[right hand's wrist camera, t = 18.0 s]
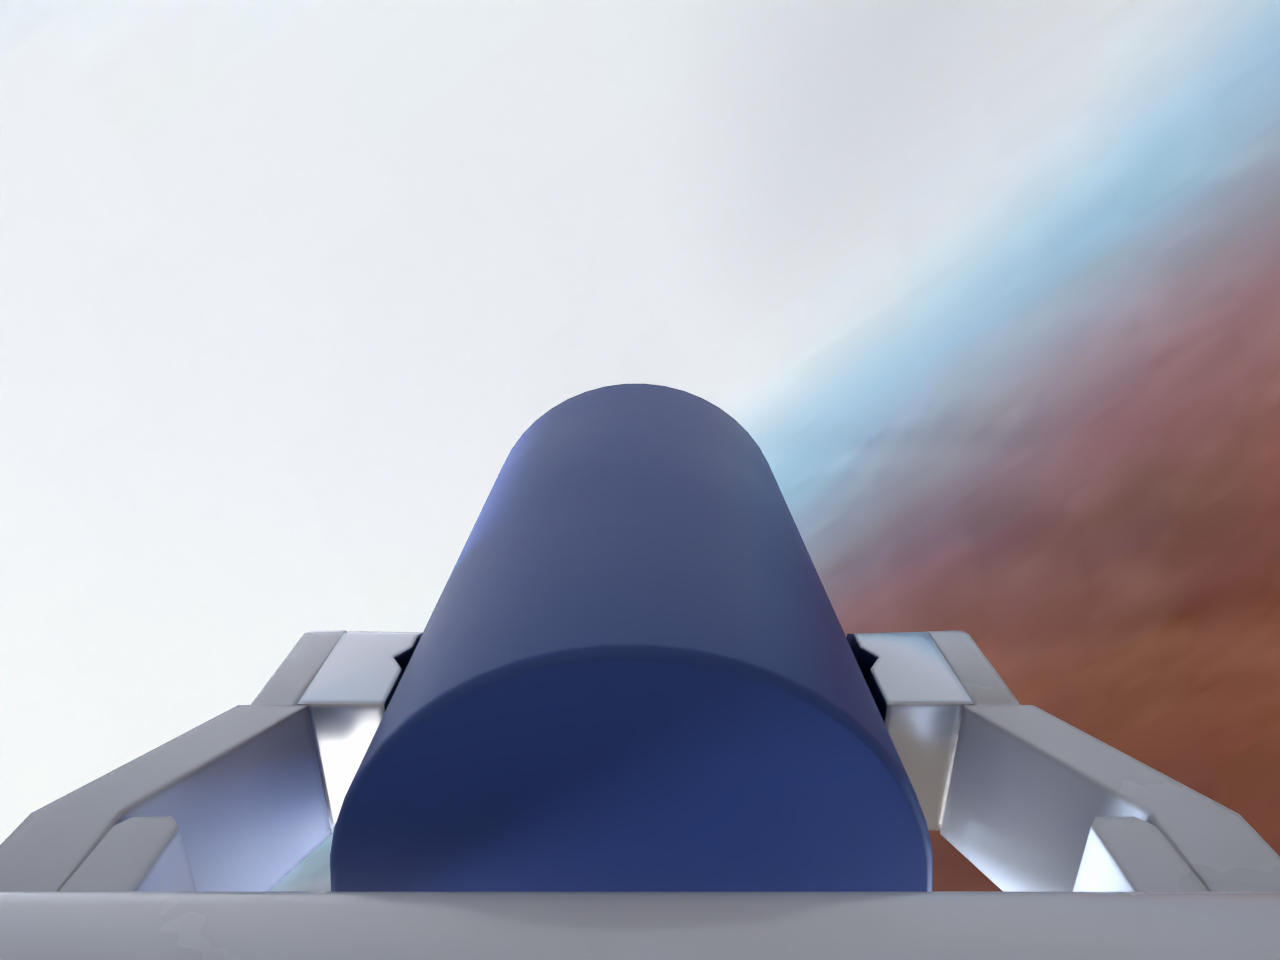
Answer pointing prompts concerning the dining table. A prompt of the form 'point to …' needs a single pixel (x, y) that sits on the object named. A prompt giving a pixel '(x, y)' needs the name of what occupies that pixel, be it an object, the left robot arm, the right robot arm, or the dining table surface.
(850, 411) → the dining table surface
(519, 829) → the canister
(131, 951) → the right robot arm
